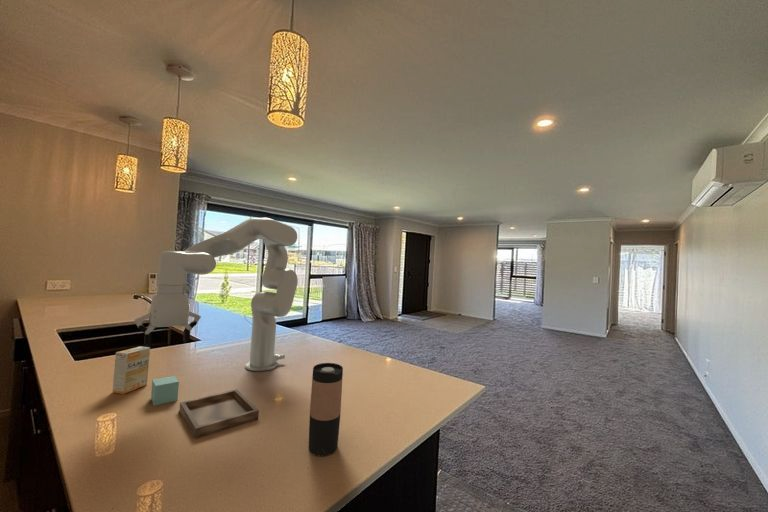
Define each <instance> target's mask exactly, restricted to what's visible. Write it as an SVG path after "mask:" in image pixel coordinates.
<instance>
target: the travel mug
mask: <svg viewBox="0 0 768 512" xmlns="http://www.w3.org/2000/svg"><path fill="white" fill-rule="evenodd" d="M343 369H344V368H343V366H342V365H340V364H338V363H333V362H323V363H317V364H316V365H314V366H313V368H312V377H311V378H312V379H311V392H310V393H311V394H310V404H309V419H308V421H309V424H308V425H309V426H308V450H309V452H310V453H311V454H312V455H313V454H315V455H314V456H316V455H320V456H319V457H322V456H321V455H324V456H323V457H326V456H325V455H327V456H330V455H332V454H334V453H335V452H336V451H337V450H338V443H339V435H340V423H341V412H342V410H341V409H342V395H343V393H342V392H343V390H342V389H343V375H344V374H343ZM329 454H330V455H329Z"/></svg>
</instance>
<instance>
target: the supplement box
mask: <svg viewBox="0 0 768 512" xmlns="http://www.w3.org/2000/svg"><path fill="white" fill-rule="evenodd" d="M150 355H151V347H147V346H136V347H132V348H128V349H124V350H120V351H116V352H115V358H114V370H113V380H112V381H113V383H112V393H116V394H121V395H124V394H127V393H129V392H132V391H134V390H137V389H140V388H141V387H145V386H147V385H148V379H149V377H148V375H149V368H150V367H149V365H150V364H149V363H150Z"/></svg>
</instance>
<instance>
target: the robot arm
mask: <svg viewBox="0 0 768 512" xmlns="http://www.w3.org/2000/svg"><path fill="white" fill-rule="evenodd" d="M258 240H262V242H263V243H264V245H265V248H266V249H267V254H268V256H267V259H266V263H265V266H264V270H263V274H262V277H261V284H262V286H263V287H264V288H266V289H270V290H274V291H275V290H276V292H273V291H259V292H257V293H255V294H254V295H253V297H251V303H250V308H251V315H252V324H251V325H252V326H251V339H250V341H251V342H250V352H249V361H248V362H246V363H245V365H244V366H245V368H246V370H249V371H253V372H265V371H271V370H274V369H275V368H277V366H278V360H285V359H286V355H285V354H279V353H278V354H275V349H276V348H275V347H276V335H277V334H276V333H277V321H276V318H283V317H286V316H287V315H288V314H289V313H290V311H291V309H292V306H293V303H294V299H295V295H296V291H297V287H298V282H299V281H298V280H299V279H298V275H297V273H296V272H295V270H293V269H291V268H287V265H288V261H289V255H288V251H287V248H286V247H291V246H293V245H295V244H296V242H297V241H298V232H297V230H296V229H295V228H294V227H293V226H291V225H289V224H285V223H283V222H280V221H277V220H275V219H272V218H269V217H251V218H247V219H245V220H244V221H242V222H241V223H239V224H237V225H235V226H234V227H232V228H230V229H228V230H227V231H225V232H223V233H220V234H216V235H214V236H213V237H212V236H211V237H210V238H207V239H204V240H202V241H199V242H197V243H195V244H193V245H191V246H190V247H188V248H186V249H185V250H183V251H179V250H177V251H174V250H164V251H162V252H160V254H159V265H158V278H157V286H156V287H157V291H156V293H154V294H153V295H152V298H151V303H150V306H149V312H148V313H146V314H144V315H141V316H139V317H137V318H136V319H134V321H133V322H134V323H135V325H136V326H137V328H138V329H139V330H140V331H141V332H143V333H144V339H143V342H144V343H143V344H144V345H146V346H145V347H149V348H151V347H152V337H153V336H152V331H153V330H154V329H156V328H165V327H167V328H168V327H177V326H178V327H181V326H183V327H184V329H183V334H182V342H184V343H185V344H188V342H189V341H188V340H190V337H191V331H192V329H193V328H194V327H195V326H196V325H197V324H198V323H199V321H200V319H201V318H202V317H201V315H199V314H197V313H194V312H193V311H190V301H189V294H188V293H187V292H189V291H192V286H189V285H187V281H188V279H187V278H188V274H194V275H200V276H202V275H207V274H208V275H209V274H210V273H212V272H213V271H214V270H215V269H216V266H217V261H216V258H219V257H222V256H230V255H234V254H236V253H239V252H240V251H242V250H244V249H245V248H247V247H248V246H249V245H250V244H253V243H254V242H256V241H258ZM190 317H192V318H193V320H192V321H191V322H190V323H189V320H190ZM275 317H276V318H275ZM147 320H148V326H146V327H145V326H144V324H143V322H144V321H147Z"/></svg>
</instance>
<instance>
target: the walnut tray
mask: <svg viewBox="0 0 768 512" xmlns="http://www.w3.org/2000/svg"><path fill="white" fill-rule="evenodd" d="M179 413H180V414H181V416H182V418H183V420H184V421H185V423H186V425H187V427H188V429H189V430H190V433H192V436H193V437H194V439H198V438H202V437H204V436H205V437H206V436H208V435H211V434H214V433H215V434H216V433H218V432H220V431H224V430H228V429H231V428H234V427H236V426H240V425H243V424H246V423H249V422H250V423H251V422H253V421H256V420H259V413H260V410H259V409H258V407H256V405H254V404H253V403H252V402H251V401H250V400H249V399H248V398H247V397H246V396H245V395H244V394H242V392H241V391H240V390H239V389H232V390H227V391H223V392H219V393H214V394H210V395H207V396H206V395H205V396H202V397H198V398H193V399H189V400H184V401H180V402H179Z"/></svg>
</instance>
